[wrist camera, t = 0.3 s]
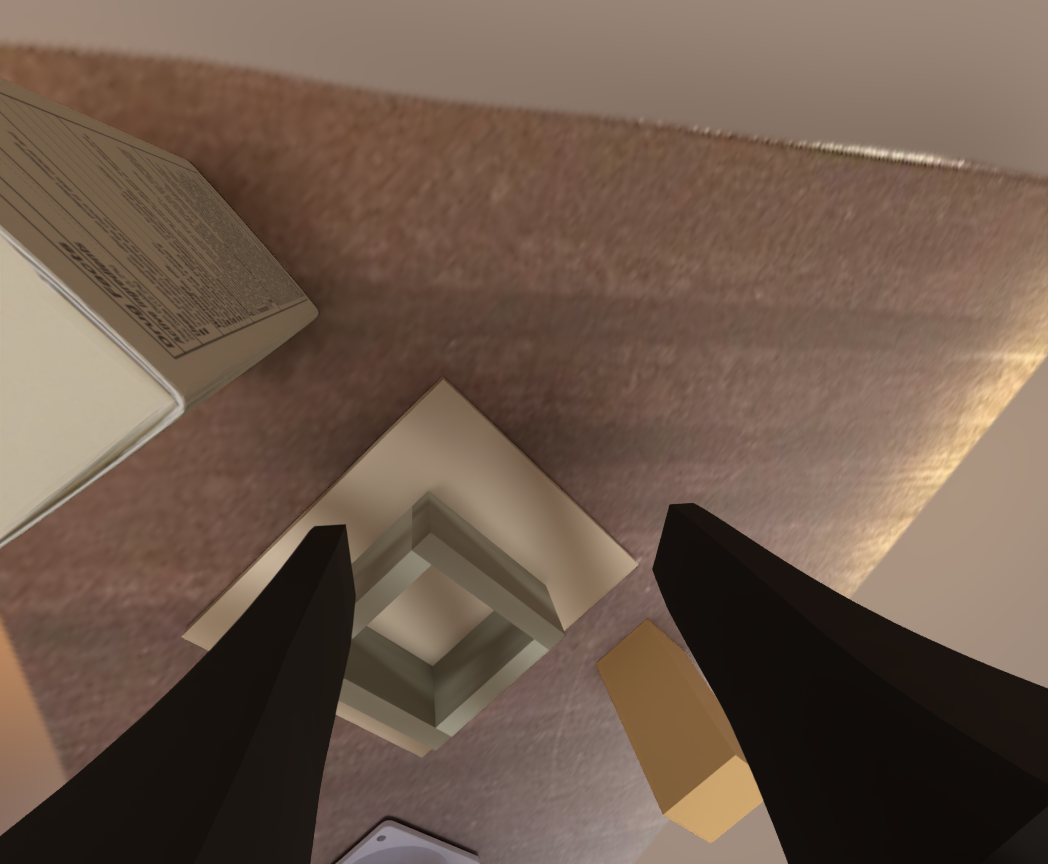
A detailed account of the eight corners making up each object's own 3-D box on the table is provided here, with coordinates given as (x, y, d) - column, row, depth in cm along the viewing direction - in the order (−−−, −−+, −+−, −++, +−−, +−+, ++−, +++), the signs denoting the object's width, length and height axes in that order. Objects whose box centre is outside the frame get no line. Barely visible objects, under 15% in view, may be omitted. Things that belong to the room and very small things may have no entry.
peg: (634, 693, 29) (710, 843, 21) (595, 663, 27) (662, 814, 20) (683, 650, 28) (778, 788, 21) (647, 618, 27) (735, 755, 19)
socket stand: (421, 747, 26) (422, 826, 23) (187, 626, 21) (138, 705, 17) (633, 557, 25) (671, 609, 21) (442, 375, 19) (449, 402, 16)
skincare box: (87, 236, 15) (-775, 174, 4) (193, 154, 15) (-410, -136, 4) (239, 384, 18) (-51, 590, 7) (332, 315, 18) (192, 407, 7)
